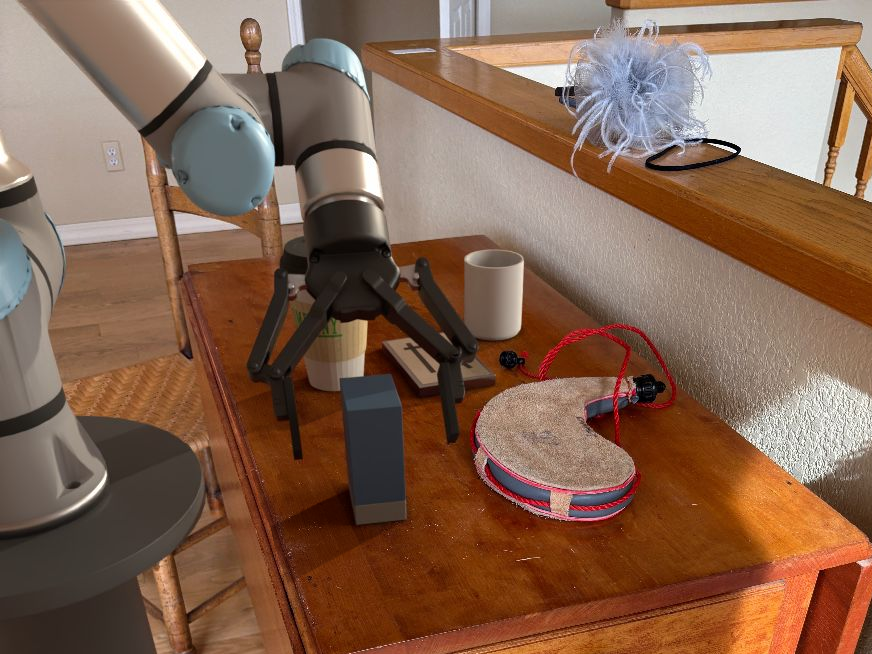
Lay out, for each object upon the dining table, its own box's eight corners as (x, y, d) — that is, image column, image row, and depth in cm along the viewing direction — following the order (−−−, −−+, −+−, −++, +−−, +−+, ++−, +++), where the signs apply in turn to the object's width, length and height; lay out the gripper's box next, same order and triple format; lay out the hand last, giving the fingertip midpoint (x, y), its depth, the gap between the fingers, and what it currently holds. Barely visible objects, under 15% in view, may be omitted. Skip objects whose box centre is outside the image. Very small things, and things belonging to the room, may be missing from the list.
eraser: (356, 525, 82) (346, 411, 75) (348, 488, 87) (339, 377, 80) (406, 520, 82) (401, 406, 76) (396, 483, 87) (391, 373, 81)
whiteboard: (420, 397, 102) (419, 386, 101) (382, 350, 113) (381, 340, 112) (495, 384, 105) (495, 373, 104) (451, 340, 115) (451, 329, 114)
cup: (476, 344, 114) (477, 271, 108) (448, 317, 121) (447, 247, 116) (530, 336, 116) (533, 263, 110) (498, 309, 123) (500, 240, 118)
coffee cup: (284, 369, 108) (268, 237, 99) (365, 357, 111) (356, 227, 102) (304, 404, 101) (288, 264, 92) (390, 389, 104) (383, 253, 95)
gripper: (473, 230, 89) (508, 444, 86) (207, 250, 85) (235, 474, 82) (486, 185, 81) (524, 418, 79) (195, 204, 77) (226, 449, 75)
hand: (376, 447), depth 80 cm, fingers open, 13 cm apart
